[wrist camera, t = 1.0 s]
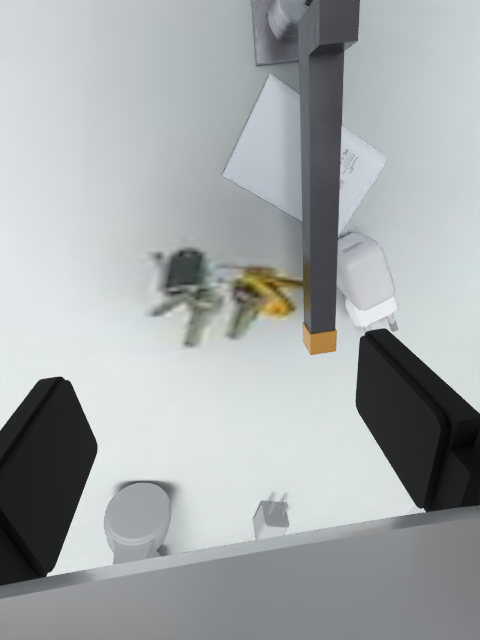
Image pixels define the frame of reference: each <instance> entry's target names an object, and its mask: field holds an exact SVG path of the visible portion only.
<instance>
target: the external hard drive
mask: <svg viewBox="0 0 480 640" xmlns="http://www.w3.org/2000/svg"><path fill="white" fill-rule="evenodd" d="M386 161H387V158H386V157H384V156H383V155H381V154H380V153H379V152H377V151H376V150H375V149H373V148H372V147H371V146H369V145H368V144H367V143H365V142H364V141H362V140H361V139H360V138H358V137H357V136H356V135H354V134H353V133H352V132H350V131H349V130H347V129H346V128H345V127H343V126H342V129H341V160H340V191H339V223H338V236H339V235H340V233H341V232H342V230H343V229H344V227H345V226H346V224H347V222H348V221H349V219H350V218H351V216H352V215H353V213H354V211H355V210H356V208H357V207H358V205H359V204H360V202H361V201H362V199H363V198H364V196H365V194H366V193H367V191H368V190H369V188H370V187H371V185H372V184H373V182H374V181H375V179H376V177H377V176H378V174H379V173H380V171H381V170H382V168H383V167H384V165H385V163H386ZM222 176H224V177H225V178H227V179H229V180H231V181H232V182H234V183H236V184H238V185H239V186H241V187H243V188H245V189H246V190H248V191H250V192H251V193H253V194H255V195H257V196H258V197H260V198H262V199H264V200H265V201H267V202H269V203H270V204H272V205H274V206H276V207H277V208H279V209H281V210H283V211H284V212H286V213H288V214H290V215H291V216H293V217H295V218H296V219H298V220H300V221H302V181H301V130H300V95H299V94H298V93H297V92H295V91H294V90H292V89H291V88H289V87H288V86H287V85H285V84H284V83H283V82H281V81H280V80H279V79H277V78H276V77H274V76H273V75H272V74H269V75H268V76H267V78H266V80H265V83H264V85H263V87H262V89H261V91H260V93H259V96H258V98H257V100H256V102H255V104H254V106H253V109H252V111H251V113H250V115H249V117H248V119H247V121H246V124H245V126H244V128H243V130H242V132H241V134H240V137H239V139H238V141H237V143H236V145H235V147H234V149H233V151H232V154H231V156H230V158H229V160H228V162H227V164H226V166H225V169H224V171H223V173H222Z"/></svg>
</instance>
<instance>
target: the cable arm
mask: <svg viewBox="0 0 480 640" xmlns="http://www.w3.org/2000/svg"><path fill="white" fill-rule="evenodd" d="M359 6H360V0H313V1H312V3H311V4H310V6H309V7H308V8H307V10H306V11H305V13H304V14H303V16H302V17H301V18H300V20H299V21H298V29H299V79H300V130H301V181H302V232H303V283H304V322H303V342H304V344H305V346H306V348H307V349H308V351H309V353H310V355H314V354H320V353H327V352H333V351H336V337H337V330H336V329H335V317H336V286H337V254H338V223H339V191H340V160H341V129H342V97H343V66H344V51H345V50H346V49H348V48H349V47H350V46H352V45H353V44H354V43H356V42H357V41H358V27H359Z"/></svg>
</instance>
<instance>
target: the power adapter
mask: <svg viewBox="0 0 480 640" xmlns="http://www.w3.org/2000/svg"><path fill="white" fill-rule="evenodd" d="M337 287H338V289H339V290H340V292H341V293H342V294H343V295H344V296H345V297H346V300H345V306H346V309H347V311H348V314H349V316H350V318H351V321H352V323H353V325H354V326H355V327H363V328H364V330H365V333H366V332H367V331H370V330H371V328H370V326H369V324H371V323H373V322H375V321H377V320H379V319H381V318H383V317H385V316H387V319H388V323H389V326H390V329H391V331H393V332H395V331H397V330H398V327H397V324H396V321H395V319H394V316H393V312H395V311H396V310H398V302H397V299H396V296H395V286H394V283H393V279H392V276H391V273H390V270H389V267H388V264H387V261H386V258H385V255H384V253H383V250H382V248H381V247H380V245H379V244H378V243H377V242H375V241H374V240H372V239H370V238H368V237H366V236H364V235H362V234H360V233H357V232H352V233H350V234H348V235H346V236H344V237H342V238H340V239H338V254H337Z"/></svg>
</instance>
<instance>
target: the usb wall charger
mask: <svg viewBox="0 0 480 640" xmlns="http://www.w3.org/2000/svg"><path fill="white" fill-rule="evenodd" d="M287 506H288V505H287V502H285V504H283V503H282V502H274V501H262V503H261V505H260V507H259V509H258V511H257V513H256V515H255V517H254V519H253V524H254V531H255V538H256V540H260V539H266V538H271V537H277V536H283V535H284V534H285V532H286V530H287V529H288V527H289V520H288V516H287V512H286V508H287Z"/></svg>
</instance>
